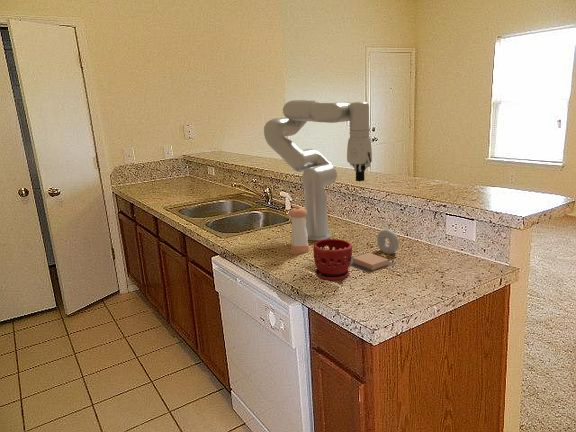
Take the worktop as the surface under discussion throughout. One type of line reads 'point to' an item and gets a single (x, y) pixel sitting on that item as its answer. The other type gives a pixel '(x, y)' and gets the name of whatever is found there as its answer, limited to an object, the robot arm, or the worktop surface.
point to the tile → (370, 261)
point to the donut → (392, 238)
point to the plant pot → (332, 259)
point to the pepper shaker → (299, 231)
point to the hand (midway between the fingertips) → (360, 180)
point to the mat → (366, 268)
